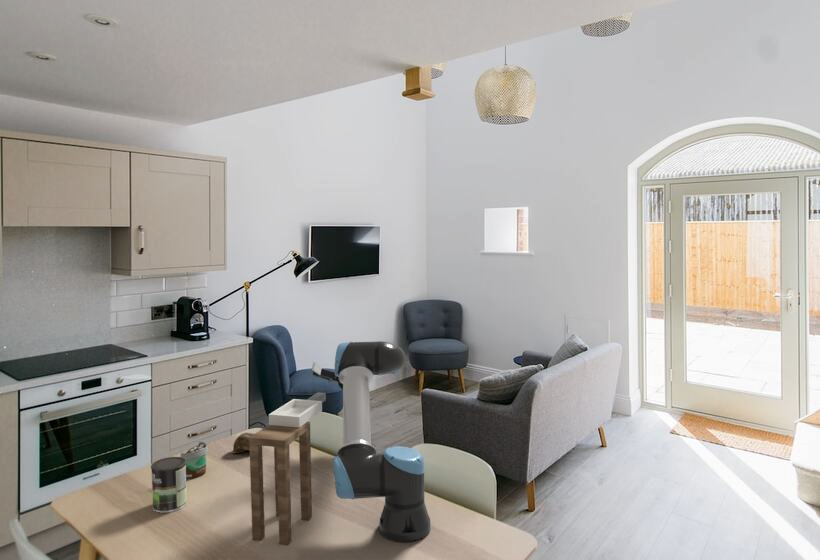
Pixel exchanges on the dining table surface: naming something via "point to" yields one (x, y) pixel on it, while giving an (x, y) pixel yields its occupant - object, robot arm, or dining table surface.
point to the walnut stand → (280, 477)
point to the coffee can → (169, 484)
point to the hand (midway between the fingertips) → (330, 367)
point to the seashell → (242, 443)
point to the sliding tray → (297, 411)
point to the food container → (195, 460)
